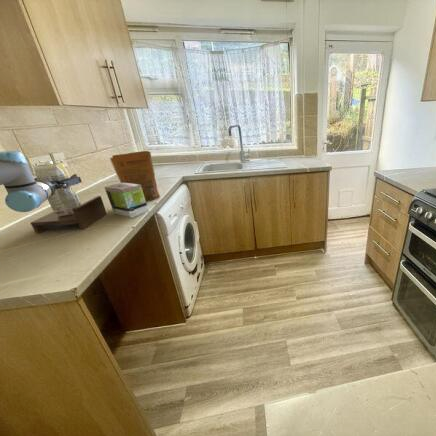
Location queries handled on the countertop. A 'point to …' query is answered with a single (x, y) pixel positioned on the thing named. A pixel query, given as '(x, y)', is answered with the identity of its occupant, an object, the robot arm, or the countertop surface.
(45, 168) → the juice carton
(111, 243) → the countertop surface
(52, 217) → the shelf
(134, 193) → the tea box
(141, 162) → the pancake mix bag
